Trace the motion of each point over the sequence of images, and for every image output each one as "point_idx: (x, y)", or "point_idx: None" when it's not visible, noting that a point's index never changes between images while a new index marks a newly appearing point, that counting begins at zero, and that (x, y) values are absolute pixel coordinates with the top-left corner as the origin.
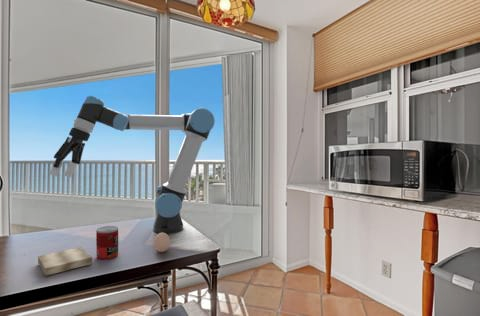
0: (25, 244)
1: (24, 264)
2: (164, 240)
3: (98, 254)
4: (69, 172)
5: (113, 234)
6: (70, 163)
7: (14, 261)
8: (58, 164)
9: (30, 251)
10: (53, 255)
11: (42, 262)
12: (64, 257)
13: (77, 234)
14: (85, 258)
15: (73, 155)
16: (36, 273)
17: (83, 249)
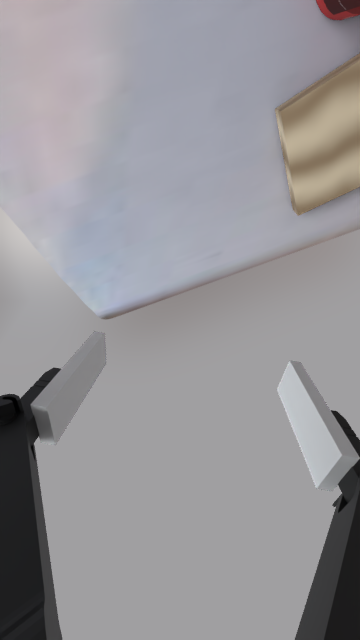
0: (151, 277)
1: (275, 234)
2: None
3: None
4: (94, 362)
5: None
6: (61, 427)
7: (248, 257)
8: (350, 434)
9: (198, 253)
10: (315, 179)
11: (353, 188)
12: (354, 139)
13: (75, 188)
14: None
15: (42, 524)
16: None
17: (315, 90)
